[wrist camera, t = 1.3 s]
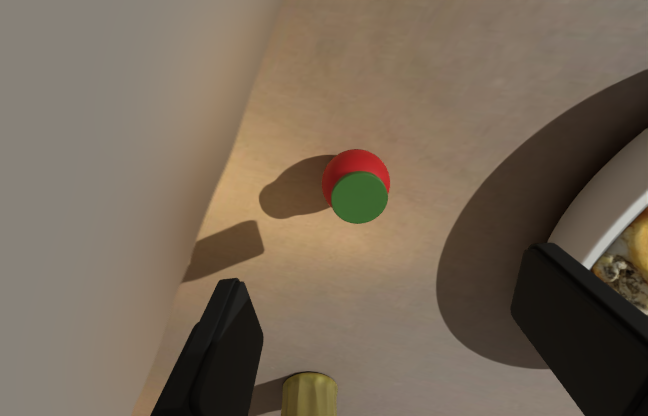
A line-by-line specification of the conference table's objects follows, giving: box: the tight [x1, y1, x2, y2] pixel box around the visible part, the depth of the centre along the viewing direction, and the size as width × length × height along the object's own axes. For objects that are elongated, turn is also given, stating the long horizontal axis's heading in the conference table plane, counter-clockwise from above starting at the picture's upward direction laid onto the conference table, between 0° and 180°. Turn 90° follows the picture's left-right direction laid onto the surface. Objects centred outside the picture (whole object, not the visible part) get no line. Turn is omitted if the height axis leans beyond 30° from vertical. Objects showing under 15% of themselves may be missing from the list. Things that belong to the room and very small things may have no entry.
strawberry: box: [322, 149, 390, 224], centre depth 17 cm, size 4×4×4 cm
